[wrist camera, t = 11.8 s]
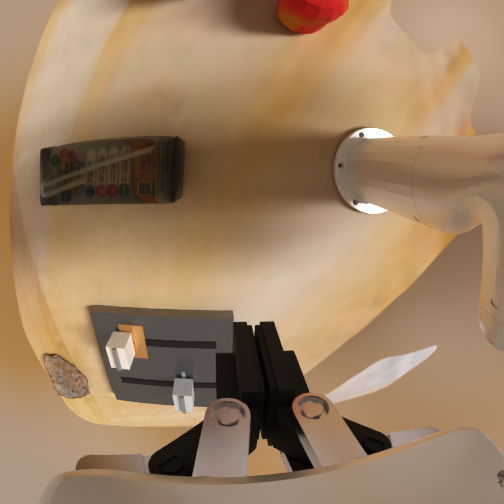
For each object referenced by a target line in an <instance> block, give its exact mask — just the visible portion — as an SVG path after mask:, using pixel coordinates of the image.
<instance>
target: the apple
mask: <svg viewBox="0 0 504 504" xmlns="http://www.w3.org/2000/svg"><path fill="white" fill-rule="evenodd" d="M348 7H349V0H279V2H278V5H277V9H276V12H277V17H278V19H279V20H280V21H281V22H282V23H283V25H285V26H286V27H287V28H289V29H290V30H292V31H294V32H297V33H300V34H311V33H314V32H316V31H319V30H320V29H321V28H323V27H324V26H325V25H326V24H328V23H330V22H332V21H334V20H336V19H337V18H339V17H340V16H342V15H343V14H344V13H345V12H346V11H347V10H348Z"/></svg>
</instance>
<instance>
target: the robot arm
mask: <svg viewBox="0 0 504 504" xmlns="http://www.w3.org/2000/svg"><path fill="white" fill-rule="evenodd" d="M359 134H360V137H359ZM339 164H340V167H339V166H338V165H339ZM333 169H334V179H335V183H336V186H337V189H338V191H339V193H340V194H341V196H342V198H343V199H344V200H345V201H346V202H347V203H348V204H349V205H350V206H351V207H353V208H354V209H356V210H358V211H360V212H363V213H366V214H379V213H383V212H386V211H388V210H389V211H391V212H394V213H396V214H399V215H401V216H404V217H407V218H409V219H412V220H414V221H417V222H419V223H421V224H424V225H426V226H429V227H431V228H434V229H436V230H439V231H441V232H444V233H448V234H460V233H464V232H467V231H469V230H471V229H473V228H474V227H476V226H477V225H479V224H480V223H481V226H482V230H483V251H484V254H483V256H484V257H483V272H482V283H481V292H480V293H481V294H480V303H479V321H480V326H481V329H482V332H483V334H484V336H485V337H486V339H487V340H488V341H489V343H491V345H493V346H494V347H496V348H497V349H499V350H500V351H503V352H504V133H498V134H489V135H477V136H400V137H393V136H392V135H391V134H389V133H388V132H386V131H384V130H382V129H379V128H372V127H370V128H362V129H358V130H356V131H354V132H352V133H350V134H349V135H348V136H347V137H345V139H344V140H343V141H342V142H341V144H340V146H339V148H338V149H337V152H336V155H335V158H334V166H333ZM353 200H354V202H353ZM216 398H217V400H216V401H214V402H212V403H211V404H210V405H209V406H208V407H207V410H206V413H205V417H204V420H203V421H202V422H200V423H199V424H198V425H196V426H195V427H193V428H192V429H191V430H189V431H187V432H186V433H184V434H183V435H182V436H180V437H179V438H177V439H175V440H174V441H172V442H171V443H169V444H168V445H166V446H165V447H163V448H161V449H160V450H158V451H157V452H155V453H154V454H153V455H152V456H142V454H131V455H86V456H84V457H82V458H80V460H79V461H78V462H77V465H76V470H74V471H69V472H65V473H62V474H59V475H57V476H55V477H54V478H53V479H52V480H51V481H50V482H49V484H48V485H47V487H46V488H45V490H44V492H43V495H42V497H41V499H40V502H39V504H504V455H503V453H502V452H501V451H500V449H499V448H498V447H497V446H496V444H495V443H494V442H493V441H492V440H491V439H490V438H489V437H488V436H487V435H486V434H485V433H484V432H482V431H481V430H479V429H476V428H470V427H468V428H467V427H462V428H452V429H447V430H442V431H439V430H437V429H435V428H421V429H414V430H407V431H399V432H390V433H389V434H388V435H384V434H383V433H381V432H378V431H375V430H373V429H371V428H368V427H365V426H363V425H360V424H358V423H356V422H353V421H351V420H348V419H346V418H344V417H341V416H340V414H339V412H338V411H337V409H336V408H335V406H334V405H333V403H332V402H331V401H330V400H329V399H328V398H327V397H325V396H324V395H321V394H318V393H310V392H309V389H308V387H307V384H306V382H305V379H304V376H303V373H302V371H301V368H300V366H299V363H298V360H297V358H296V355H295V353H294V351H293V350H292V351H283V348H282V345H281V342H280V339H279V336H278V333H277V330H276V327H275V324H274V322H273V321H271V322H260V325H255V332H254V334H253V329H252V325H247V322H233V344H232V353H216ZM260 430H261V436H262V439H267V442H268V446H273V447H274V448H276V449H278V450H279V451H280V454H281V458H282V460H283V462H284V465H285V467H286V469H287V471H288V472H287V473H279V474H270V475H260V476H247V467H248V455H249V454H250V453H252V452H253V451H254V450H255V449H256V445H257V440H258V439H259V433H260Z"/></svg>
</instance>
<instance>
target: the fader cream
mask: <svg viewBox="0 0 504 504" xmlns="http://www.w3.org/2000/svg"><path fill="white" fill-rule="evenodd" d="M106 351H107V354H108V358H109V361H110V365H111V368H117V370H118V371H122V369H128V370H130V367H131V364H132V361H133V358H134V355H135V350H134V345H133V340H132V335H131V333H126V332H115V331H113V333H112V335H111V337H110V339H109V341H108V343H107V345H106Z"/></svg>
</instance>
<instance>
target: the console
mask: <svg viewBox="0 0 504 504" xmlns="http://www.w3.org/2000/svg"><path fill="white" fill-rule="evenodd" d="M91 315H92V320H93V324H94V328H95V332H96V336H97V339H98V343H99V347H100V350H101V354H102V357H103V360H104V364H105V367H106V370H107V373H108V376H109V379H110V382H111V385H112V388H113V390H114V393H115V396H116V399H117V400H124V401H132V402H140V403H150V404H161V405H174V401H173V396H172V394H173V387H174V380H175V378H180V379H193V387H194V406H197V407H208V406H209V405H210V404H211V403H212V402H214V401H216V400H217V398H216V353H232V344H233V319H234V317H233V311H207V310H170V309H148V308H130V307H115V306H101V305H95V306H94V307H93V309H92V310H91ZM113 331H115V332H126V333H131V335H132V340H133V345H134V350H135V355H134V358H133V361H132V364H131V367H130V370H128V369H122V371H118V370H117V368H111V365H110V361H109V358H108V354H107V351H106V345H107V343H108V341H109V339H110V337H111V335H112V333H113Z"/></svg>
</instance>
